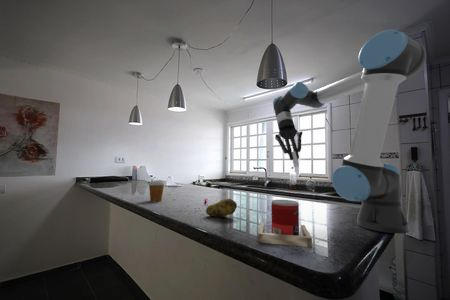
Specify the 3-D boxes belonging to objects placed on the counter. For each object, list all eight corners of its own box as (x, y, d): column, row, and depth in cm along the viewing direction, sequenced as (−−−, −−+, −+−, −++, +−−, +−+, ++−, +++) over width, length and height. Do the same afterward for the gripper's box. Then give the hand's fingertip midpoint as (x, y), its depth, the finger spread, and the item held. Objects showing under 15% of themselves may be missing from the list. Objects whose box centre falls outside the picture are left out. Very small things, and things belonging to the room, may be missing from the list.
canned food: (300, 244, 58) (299, 204, 59) (271, 241, 60) (271, 202, 61) (297, 235, 65) (297, 200, 66) (271, 233, 67) (271, 198, 68)
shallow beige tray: (304, 232, 68) (304, 225, 69) (312, 247, 56) (311, 238, 56) (260, 229, 72) (260, 221, 72) (258, 242, 59) (258, 233, 59)
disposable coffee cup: (147, 200, 128) (148, 180, 129) (163, 199, 131) (164, 180, 132) (147, 202, 119) (148, 181, 120) (164, 202, 122) (165, 181, 123)
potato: (216, 213, 95) (216, 195, 95) (239, 218, 87) (239, 198, 87) (203, 216, 88) (204, 197, 89) (227, 222, 80) (228, 201, 81)
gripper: (297, 125, 105) (309, 167, 93) (271, 129, 106) (280, 170, 94) (300, 116, 99) (313, 160, 87) (272, 120, 100) (282, 163, 88)
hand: (296, 165), depth 91 cm, fingers closed
